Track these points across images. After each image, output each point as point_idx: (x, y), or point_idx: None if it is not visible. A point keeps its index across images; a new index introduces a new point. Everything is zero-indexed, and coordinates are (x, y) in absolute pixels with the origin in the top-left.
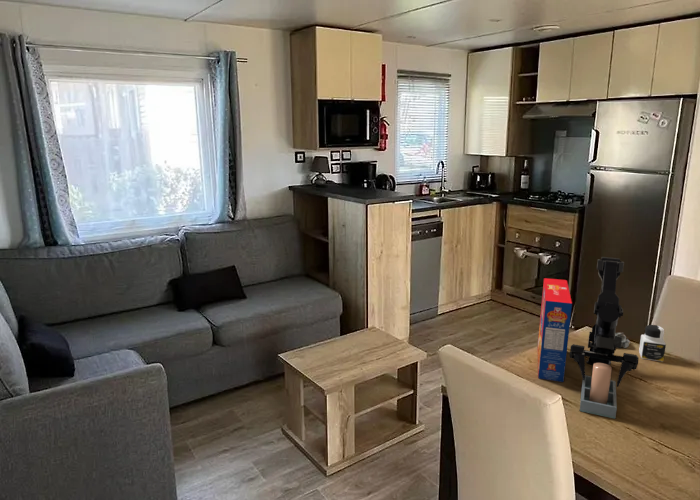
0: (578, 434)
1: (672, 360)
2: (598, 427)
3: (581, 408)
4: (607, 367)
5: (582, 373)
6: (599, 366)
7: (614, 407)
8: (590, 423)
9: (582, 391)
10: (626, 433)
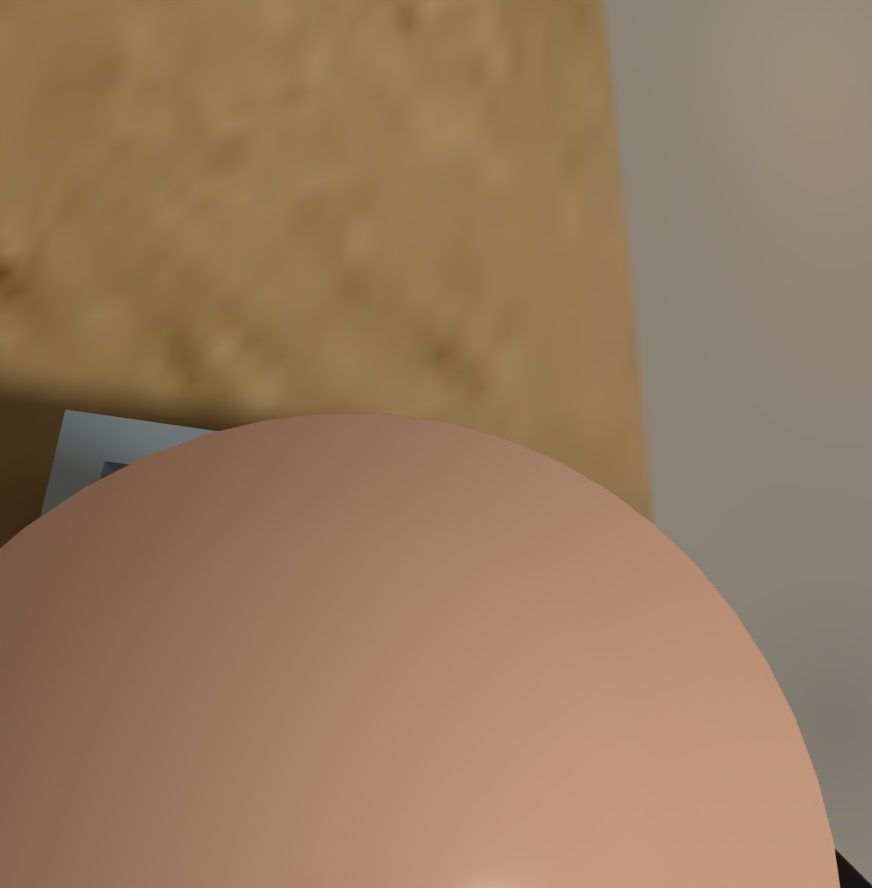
0: (562, 36)
1: None
2: (354, 203)
3: None
4: (73, 879)
5: (850, 866)
6: (540, 827)
7: (101, 415)
8: (433, 263)
9: None
10: (49, 155)
